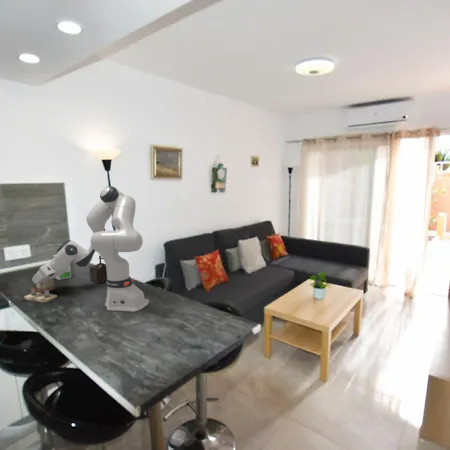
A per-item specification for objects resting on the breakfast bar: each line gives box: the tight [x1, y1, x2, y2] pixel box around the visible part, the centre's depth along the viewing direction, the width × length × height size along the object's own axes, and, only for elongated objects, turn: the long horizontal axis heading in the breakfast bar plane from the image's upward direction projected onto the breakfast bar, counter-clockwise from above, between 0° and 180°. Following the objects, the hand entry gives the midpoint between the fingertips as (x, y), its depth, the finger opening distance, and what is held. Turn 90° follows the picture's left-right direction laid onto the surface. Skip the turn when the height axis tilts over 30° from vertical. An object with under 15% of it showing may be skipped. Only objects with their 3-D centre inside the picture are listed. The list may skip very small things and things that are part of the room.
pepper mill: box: [89, 254, 107, 284], centre depth 193 cm, size 16×11×18 cm
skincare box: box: [52, 254, 72, 281], centre depth 195 cm, size 8×7×16 cm
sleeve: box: [35, 278, 55, 293], centre depth 171 cm, size 6×6×9 cm
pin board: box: [23, 287, 58, 304], centre depth 161 cm, size 15×7×5 cm, turn 74°
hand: (44, 281), depth 172 cm, fingers closed on sleeve, 6 cm apart
